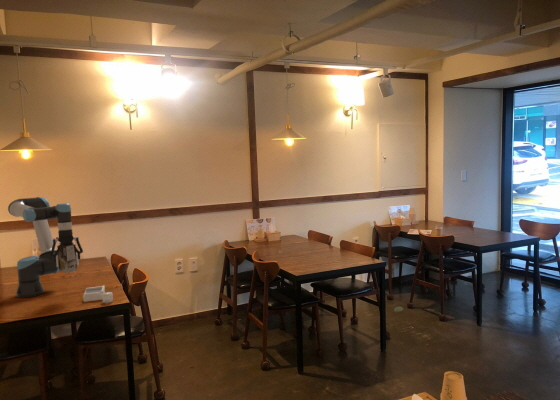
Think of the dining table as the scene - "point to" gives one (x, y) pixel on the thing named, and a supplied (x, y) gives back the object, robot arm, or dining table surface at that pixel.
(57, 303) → the dining table surface
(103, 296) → the white rounded block
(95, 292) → the white open box
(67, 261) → the coffee box
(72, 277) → the dining table surface
